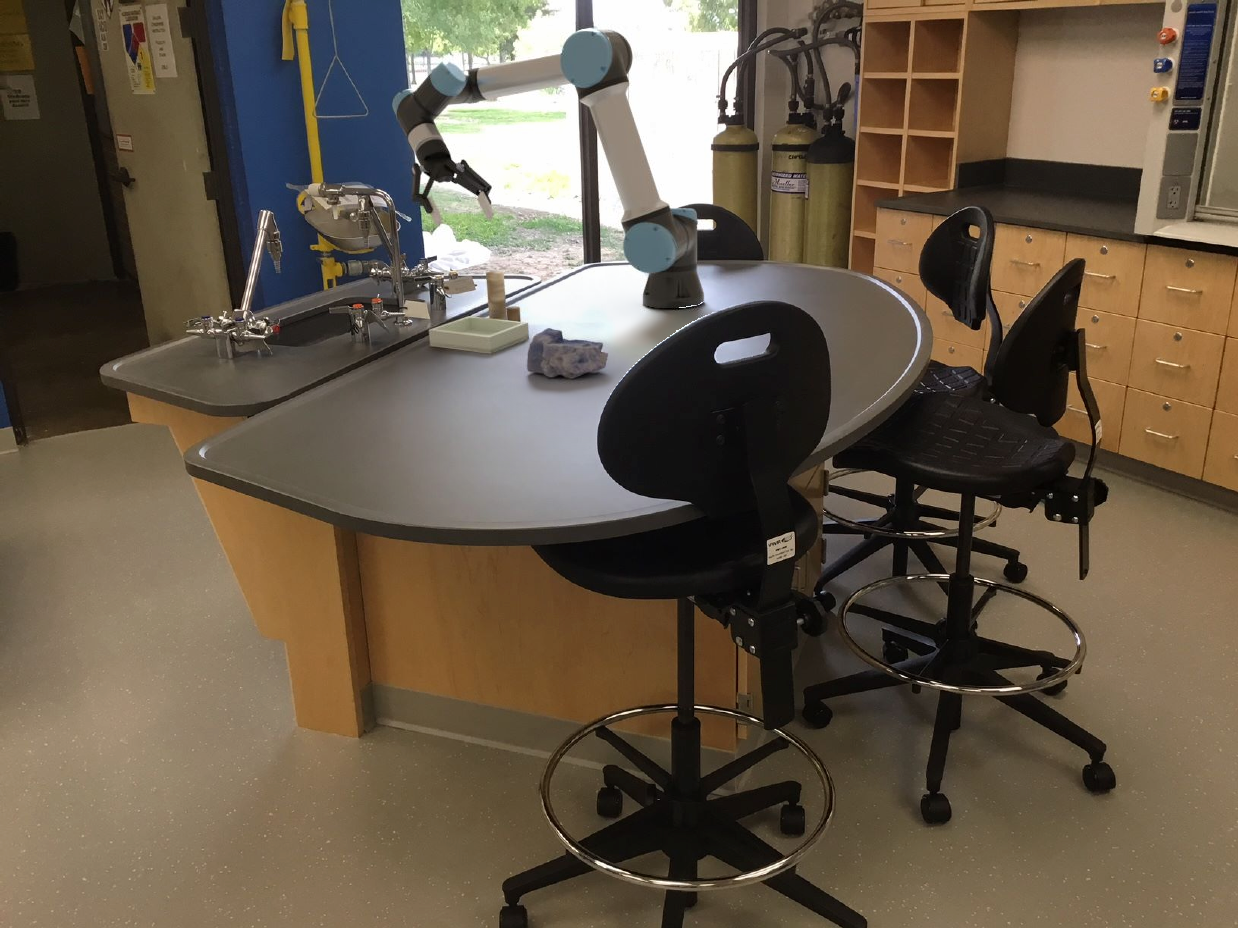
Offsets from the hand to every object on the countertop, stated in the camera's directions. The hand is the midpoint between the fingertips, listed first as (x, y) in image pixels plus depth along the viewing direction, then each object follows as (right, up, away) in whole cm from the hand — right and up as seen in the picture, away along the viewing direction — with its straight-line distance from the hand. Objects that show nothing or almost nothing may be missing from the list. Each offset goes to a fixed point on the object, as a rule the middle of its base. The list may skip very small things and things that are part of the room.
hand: (466, 220), depth 233 cm
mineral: (+26, -39, -39) cm, 61 cm away
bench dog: (+12, -26, -5) cm, 29 cm away
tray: (+5, -30, -15) cm, 34 cm away
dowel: (+7, -24, 0) cm, 25 cm away
